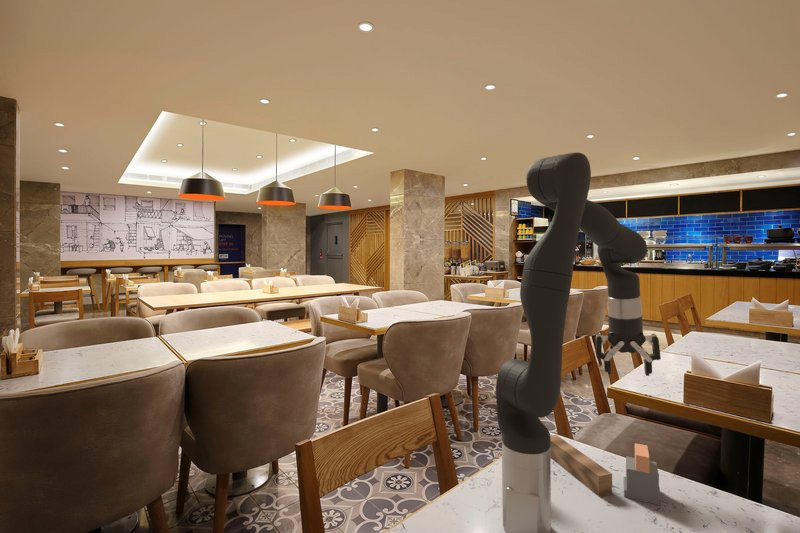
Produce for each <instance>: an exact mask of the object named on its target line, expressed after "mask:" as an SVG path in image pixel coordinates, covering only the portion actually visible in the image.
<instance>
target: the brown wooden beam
mask: <svg viewBox="0 0 800 533" xmlns="http://www.w3.org/2000/svg"><path fill="white" fill-rule="evenodd" d="M550 438H551V460H552V461H554V462H555V463H556V464H558V465H559V466H560V467H561V468H562V469H564V470H565V471H566V472H567V473H568V474H570V475H571V476H573V477H574V478H575V479H576V480H577V481H578V482H580V483H581V484H582V485H584V486H585V487H586V488H587V489H588V490H590V491H591V492H592V493H593V494H595V495H596V496H597V497H598V498H601V497H604V496H610V495H613V473H612V472H611V471H609V470H608V469H606V468H605V467H604V466H602V465H600V464H599V463H598V462H596V461H595V460H593V459H592V458H590V457H589V456H588V455H586V454H584V453H583V452H582V451H580V450H578V448H576V447H575V446H573V445H572V444H570V443H569V442H567V441H566V440H564V439H563V438H562V437H560V436H559V435H558V434H553V435H550Z"/></svg>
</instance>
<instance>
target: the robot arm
mask: <svg viewBox="0 0 800 533" xmlns="http://www.w3.org/2000/svg"><path fill="white" fill-rule="evenodd" d="M527 169H528V170H527V171H526V176H525V178H526V181H525V182H526V187H527V190H528V192H529V193H530V195H531V197H532V198H534V199H535V201H536V202H539V203H540V204H541V205H543V206H544V207H547V208H548V209H550V210H551V211H553V212H554V214H553V216H552V220H551V222H550V224H549V225H548V228H547V229H546V231H545V232H544V233H543V235H542V236H541V237H540V238H539V240H538V241H537V242H536V244H535V245H534V246H533V248H532V249H531V251H530V252H529V253H528V255H527V257H526V259H525V262H524V264H523V269H522V276H521V282H520V289H519V296H520V302H521V306H522V307H521V308H522V310H523V313H524V317H525V319H526V322H527V325H528V330H529V334H530V354H529V359H528V360H529V361H525V360H523V359H517V358H515V359H513V358H512V359H509V360H507V361H506V362H504V363H503V364H502V366H501V367H500V369H499V371H498V373H497V376H496V383H495V400H496V417H497V424H498V425H497V426H498V428H499V431H500V433H502V435H501V463H502V464H501V480H502V482H501V483H502V487H501V488H502V489H501V491H502V494H501V495H502V503H501V504H502V526H503V529H504V530H505V533H552V504H551V503H552V499H551V498H552V496H551V495H552V487H551V484H552V482H551V481H552V480H551V478H552V477H551V476H552V474H551V470H552V469H551V466H552V465H551V464H552V463H551V460H552V459H551V438H550V436H551V433H550V431H549V429H548V427H547V426H546V425H545V424H544V423H543V422H542V421H541V419H540V418H546V417H547V416H549V415H551V414H552V413H553V411H554V410H555V408H556V407H557V403H558V401H559V397H560V393H561V385H562V371H563V370H562V368H563V366H562V365H563V346H564V335H565V326H566V325H565V324H566V318H567V312H568V311H567V310H568V306H569V305H568V304H569V298H570V294H571V287H572V282H573V280H572V279H573V273H574V263H575V256H576V251H577V246H578V245H577V244H578V238H579V233H580V231H581V232H583V233H584V234H585V236H587V238H588V239H589V240H590V241H591V242H593V244H595V245H596V246H597V249H596V250H597V256H598V259H599V261H600V264H601V266H602V270H603V272H604V276H605V278H606V282H607V286H606V287H607V318H608V319H607V320H608V334H607V335H601V334H600V333H596V334H595V356H596V358H597V360H599V359H601V360H603V367H604V371H605V373H607V375H612V365H611V364H612V363H611V359H612V358H613V357H614V356H615V355H616V354H617V353H618V352H619V353H622V354H623V353H624V354H625V353H629V354H635V353H636V352H637V353H638V354H639V355H640V356H641V357H642V358H644V359H643V364H644V374H645V376H646V377H650V375H652V374H653V362H654V361H660V360H661V358H662V357H661V350H660V349H661V348H660V341H659V337H658V335H656V334H655V333H652V334H651V335H645V334H644V326H643V324H644V322H643V305H642V300H641V290H640V289H641V286H640V284H641V283H640V276H639V275H638V274H637V273H635V272H633V271H630V270H627V269H624V268H623V267H622V265H621V264H637V263H639V262H642V261H643V260H644V259H645V257H646V256H647V254H648V246H647V243H646V240H645V238H644V237H643V236H642V235H641V234H640V233H639V232H637V231H635V230H633V229H631V228H630V227H628V226H626V225H623V224H622V223H620V221H618V219H617V218H616V217H615V216H614V214H613V213H612V212H610V211H609V209H607V208H606V207H604V206H602V205H600V204H598V203H596V202H594V201H592V200H589V199H588V196H589V191H590V187H591V177H592V176H591V175H592V171H591V164H590V160H589V159H588V157H587V156H586V155H585V154H584V153H582V152H569V153H564V154H558V155H553V156H548V157H544V158H543V157H542V158H540V159H538V160H535V161H533V162H532V163H531V164H530V166H529V167H528V168H527ZM606 341H608V342H609V344H610V345H609V346H608V348H607V350H606V351H605V352H602V350H603V348H602V347H603V345H604V344H606ZM646 341H647V342H648V344H649V345H651V347H652V348H651V349H652V353H648V352H647V350H645V348H644V347H643V345H644V344H645V342H646Z"/></svg>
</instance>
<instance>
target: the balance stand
mask: <svg viewBox="0 0 800 533" xmlns="http://www.w3.org/2000/svg"><path fill="white" fill-rule="evenodd" d="M623 497H624V498H628V499H632V500H637V501H641V502H645V503H649V504H652V505H653V504H654V505H658V506H662V505H663V504H662V501H663V500H662V495H661V490H660V474H659V470H658V465H657V461H651V460H650V454H649V448H648V445H647V444H642V443H641V444H640V443H636V442H635V443H634V457H631V456H625V476H623Z"/></svg>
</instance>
